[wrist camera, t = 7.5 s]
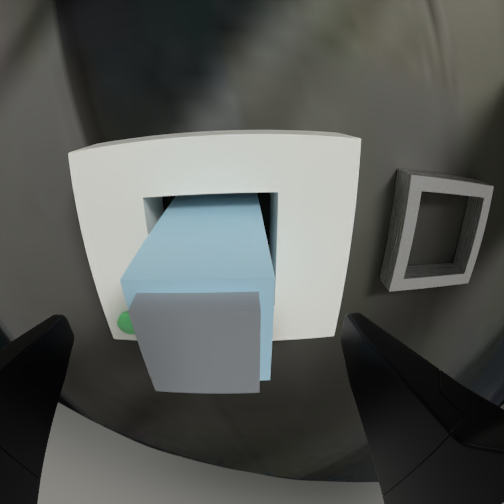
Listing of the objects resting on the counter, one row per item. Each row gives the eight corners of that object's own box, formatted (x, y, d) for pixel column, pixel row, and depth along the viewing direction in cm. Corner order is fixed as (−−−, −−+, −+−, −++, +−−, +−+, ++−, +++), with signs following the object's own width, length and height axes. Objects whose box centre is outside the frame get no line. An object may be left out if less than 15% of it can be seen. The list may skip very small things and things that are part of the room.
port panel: (337, 132, 13) (365, 139, 10) (321, 303, 18) (335, 341, 15) (97, 143, 13) (63, 154, 10) (128, 307, 17) (111, 343, 14)
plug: (256, 191, 14) (278, 296, 7) (256, 263, 16) (272, 399, 8) (176, 194, 14) (109, 297, 6) (184, 265, 16) (146, 397, 8)
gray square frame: (479, 179, 14) (493, 186, 13) (457, 272, 17) (468, 283, 16) (397, 168, 14) (411, 174, 13) (379, 278, 17) (388, 291, 16)
